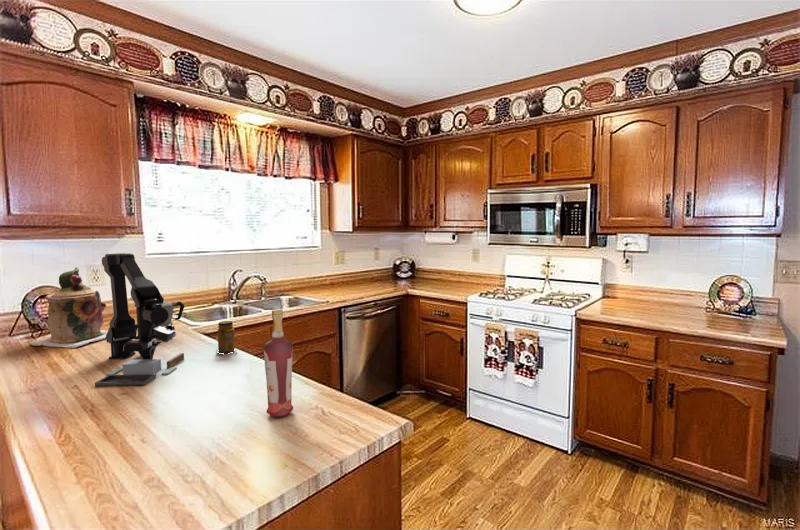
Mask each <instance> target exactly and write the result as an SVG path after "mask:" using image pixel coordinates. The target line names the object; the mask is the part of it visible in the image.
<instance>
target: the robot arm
mask: <svg viewBox="0 0 800 530" xmlns="http://www.w3.org/2000/svg"><path fill="white" fill-rule="evenodd" d="M135 259H136V257H135V255H134V253H127V252H126V253H125V252H122V253H121V252H120V253H118V252H117V253H106V254H105V255H104V256H103V257H102V258H101V265H102V267H103V271H104V272H105V273H106V274H107V276H109V278H110V288H111V299H112V309H113V316H112V318H111V320H110V322H109V328H108V330H107V331H108V332H107V335H106V338H105V340H106V343H107V344H108V343H109V344H110V352H111V353H110V356H109V357H108V359H111V360H112V359H113V360H114V359H116V360H117V359H128V358H129V357H131V356H133V355H136V352H137V353H138V354H139V355H141V356H142V358H143V359H154V358H153V357H154V355H155V351H156V349H157V347H159V345H161V344H162V342H163V343H168V342H169V341H172V340H173V338H174V337H173V335H174V334H175V335H176V329H175V325H174V324H173V325H168V326H167V327H166V328H165V327H161V326H160V324H163V323H164V322H166V320H167V319H168V312H167V310H166V309H165V308H162V304H163V302H164V301H162V300H163V298H164V297H163V296H162V293H160V290H159V287H157V285H155V283H154V282H153V280H151V279H148V278H146V277H145V274H144V273H143V272H142V270H141V268H140V266H139V265H138V263H137V261H136V260H135ZM126 279H127V280H128V282H129V284H130V285H131V287H130V288H131V289H130V296H131V297H130V298H131V300H132V301H133V302H134V307H135V309H136V310H135V311H136V312H135V313H136V315H135V316H136V319H135V318H133V317H132V316H131V315H130V313H129V304H128V294H127V293H128V292H127V281H126ZM158 340H159V341H158Z"/></svg>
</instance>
